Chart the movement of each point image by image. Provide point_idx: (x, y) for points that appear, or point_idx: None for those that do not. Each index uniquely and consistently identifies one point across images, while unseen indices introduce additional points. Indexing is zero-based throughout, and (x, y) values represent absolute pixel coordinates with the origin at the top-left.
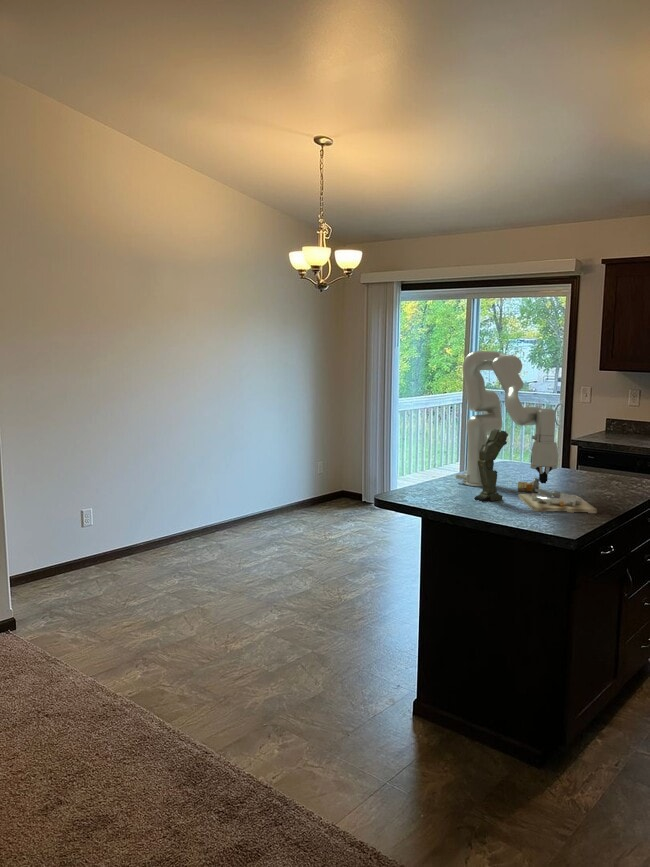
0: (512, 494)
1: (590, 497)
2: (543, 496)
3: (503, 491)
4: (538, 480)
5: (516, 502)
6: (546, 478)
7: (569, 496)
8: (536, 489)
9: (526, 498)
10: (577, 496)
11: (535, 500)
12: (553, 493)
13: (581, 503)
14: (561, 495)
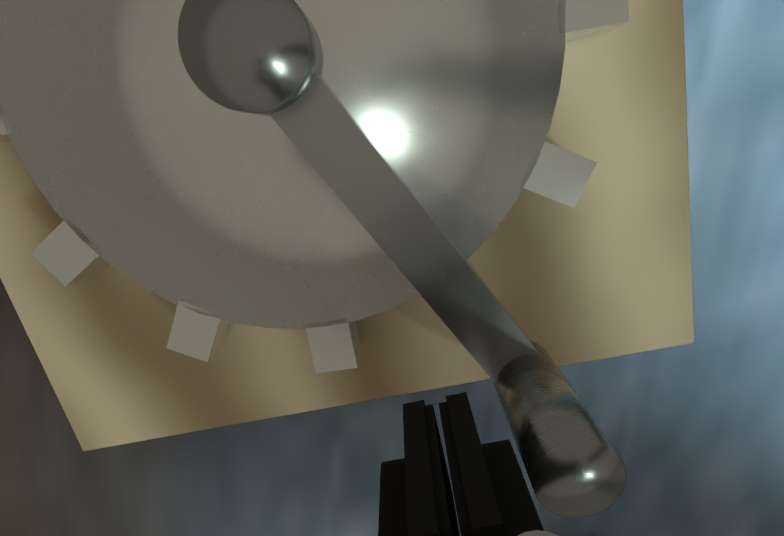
0: (704, 433)
1: (5, 529)
2: (452, 5)
3: (767, 527)
4: (534, 444)
5: (749, 40)
6: (397, 486)
7: (98, 155)
8: (523, 334)
9: (648, 98)
10: (73, 414)
11: None
12: (299, 9)
13: None
14: (203, 182)
